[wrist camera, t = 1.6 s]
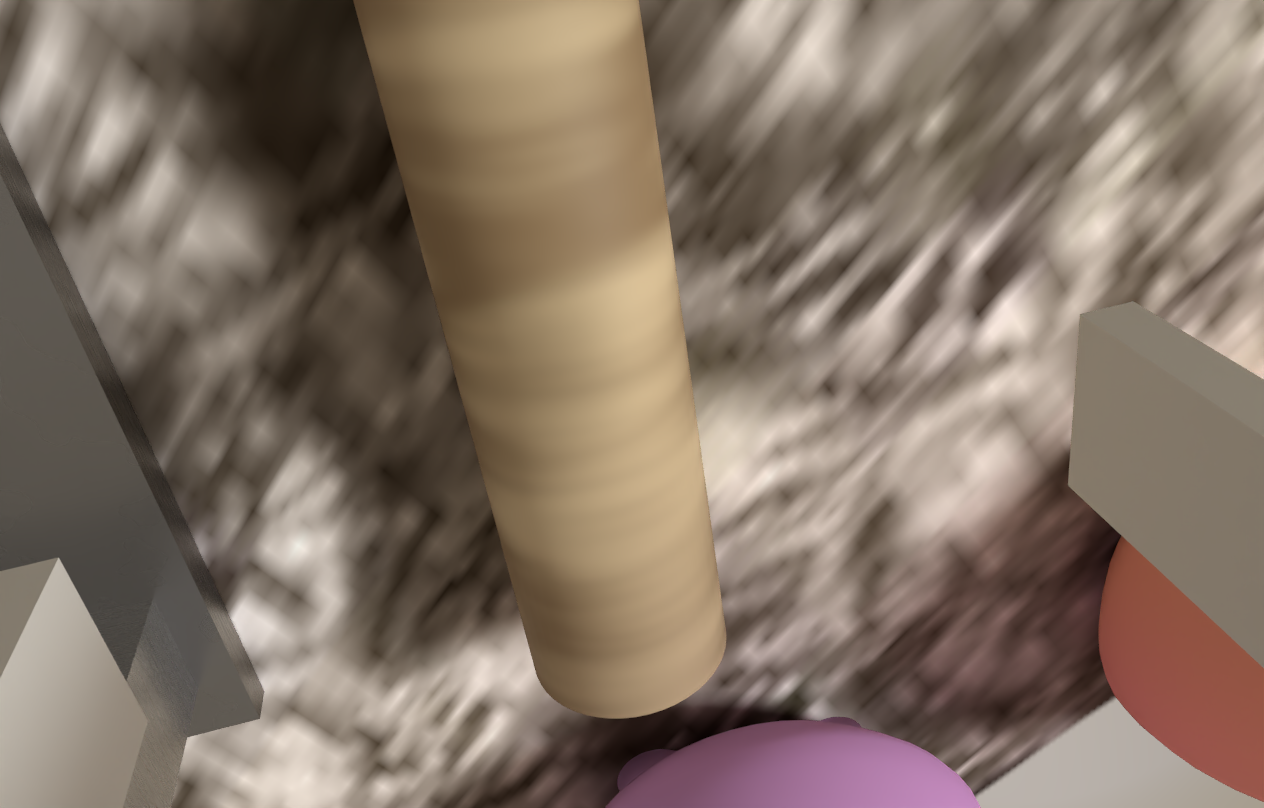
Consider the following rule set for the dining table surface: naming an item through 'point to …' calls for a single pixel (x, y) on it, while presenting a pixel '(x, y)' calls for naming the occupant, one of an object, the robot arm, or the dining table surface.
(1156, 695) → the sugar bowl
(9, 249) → the bracket stand
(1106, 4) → the dining table surface
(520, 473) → the baguette
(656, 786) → the teapot
